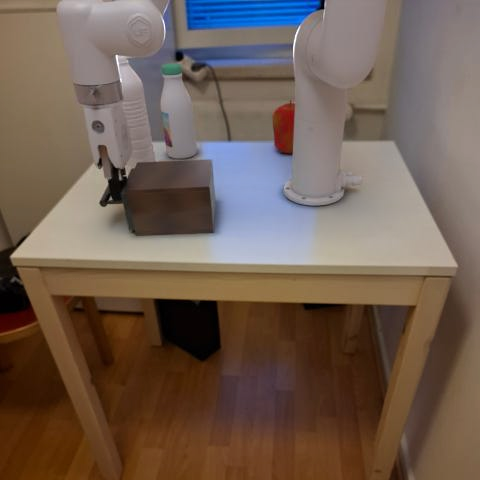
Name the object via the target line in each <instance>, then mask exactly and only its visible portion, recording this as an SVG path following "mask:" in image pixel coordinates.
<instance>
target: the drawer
mask: <svg viewBox="0 0 480 480" xmlns="http://www.w3.org/2000/svg"><path fill="white" fill-rule="evenodd" d="M134 169H135V168H132V169H131V171H130V173H129V175H128V174H127V180H126V182H125V185H124V187H123V189H122V192H121V197H122V200H112V199H111V194H110V189H109V185H108V184H107V186H106V188H105V190H104V192H103V194H102V196H101V197H100V200H99V202H98V203H99V206H100V207H102V208H106V207H107V206H108V205H122V206H123V209H124V214H125V218H126V222H127V227H128V230H129V231H135V229H134V224H133V220H132V216H131V211H130V207H129V202H128V198H127V193H126V188H127V186H128V183H129V181H130V179H131V176H132V174H133V171H134Z"/></svg>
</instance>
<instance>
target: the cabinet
mask: <svg viewBox="0 0 480 480" xmlns="http://www.w3.org/2000/svg"><path fill="white" fill-rule="evenodd" d="M215 192H216V191H215V178H214V166H213V159H190V160H164V161H163V160H162V161H160V160H159V161H156V162H137V164H136V166H135V169H134V171H133V174H132V176H131V179H130V181H129V183H128V186H127V188H126V193H127V198H128V202H129V207H130V211H131V216H132V220H133V224H134V229H135V230H134V233H135V236H137V237H138V236H139V237H140V236H161V235H162V236H163V235H186V234H190V235H191V234H212V233H215V217H216V193H215Z"/></svg>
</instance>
